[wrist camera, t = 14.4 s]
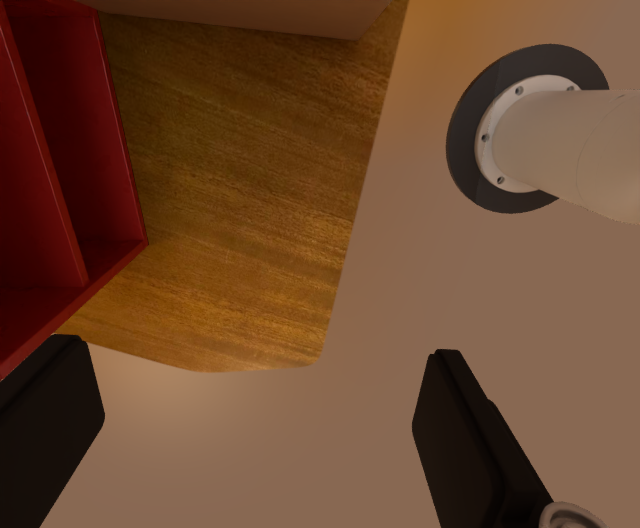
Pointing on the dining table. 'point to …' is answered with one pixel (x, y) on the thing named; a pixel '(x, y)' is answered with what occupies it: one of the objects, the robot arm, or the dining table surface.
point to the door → (259, 14)
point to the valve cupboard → (58, 172)
